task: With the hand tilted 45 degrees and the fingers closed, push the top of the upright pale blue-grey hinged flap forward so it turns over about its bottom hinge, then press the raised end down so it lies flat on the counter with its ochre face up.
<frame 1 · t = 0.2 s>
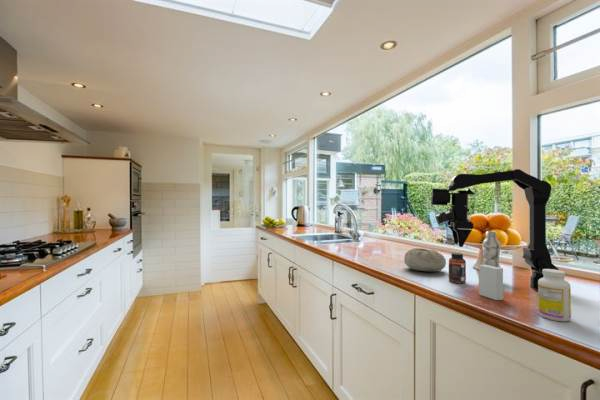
hand: (458, 245, 111), 15 cm above the worktop, tool pointing down, fingers open, 9 cm apart
supplement bottle: (457, 282, 112), on the worktop
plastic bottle: (491, 282, 113), on the worktop
supplement bottle 2: (553, 318, 77), on the worktop
smooth grey pebble: (424, 271, 130), on the worktop
flap: (490, 281, 93), point 5 cm above the worktop, hinge at 0.0°
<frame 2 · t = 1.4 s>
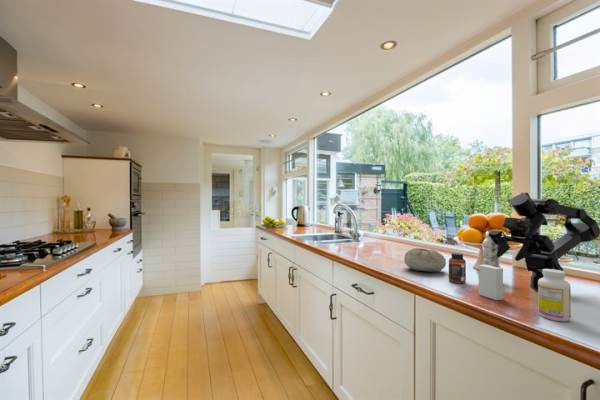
hand: (506, 258, 96), 13 cm above the worktop, tool tilted 45°, fingers open, 6 cm apart
nothing on the worktop moved.
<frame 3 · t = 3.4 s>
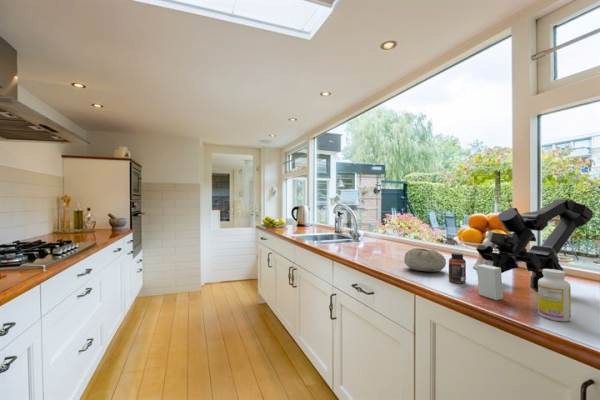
hand: (493, 274, 94), 7 cm above the worktop, tool tilted 45°, fingers closed, pressing on flap
flap: (489, 281, 93), point 5 cm above the worktop, hinge at 5.2°, touching gripper
everything else where it was.
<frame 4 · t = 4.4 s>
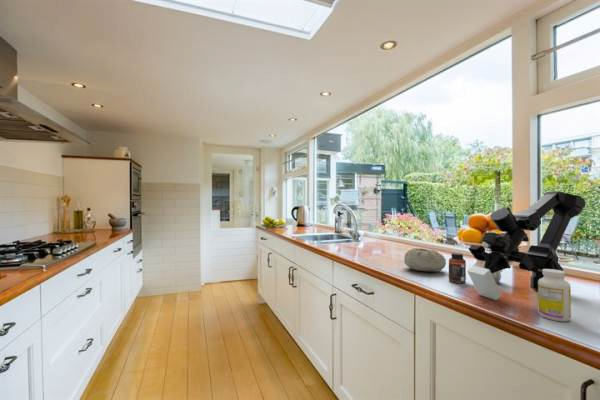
hand: (484, 274, 93), 8 cm above the worktop, tool tilted 45°, fingers closed, pressing on flap
flap: (484, 282, 93), point 5 cm above the worktop, hinge at 32.5°, touching gripper
everything else where it was.
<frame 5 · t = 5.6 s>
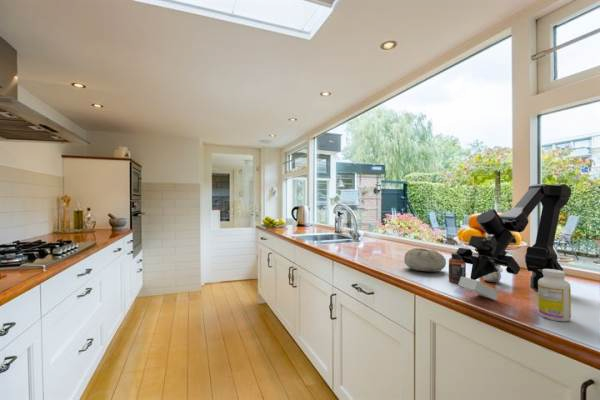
hand: (472, 279, 91), 7 cm above the worktop, tool tilted 45°, fingers closed, pressing on flap
flap: (478, 287, 92), point 4 cm above the worktop, hinge at 65.8°, touching gripper
everything else where it was.
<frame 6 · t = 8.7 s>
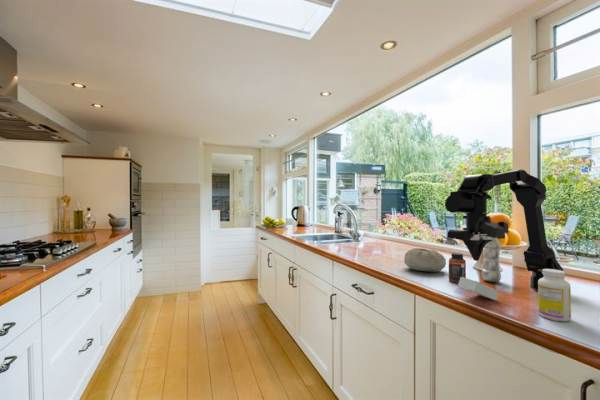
hand: (476, 260, 92), 13 cm above the worktop, tool pointing down, fingers closed
flap: (478, 288, 92), point 3 cm above the worktop, hinge at 67.7°
everything else where it was.
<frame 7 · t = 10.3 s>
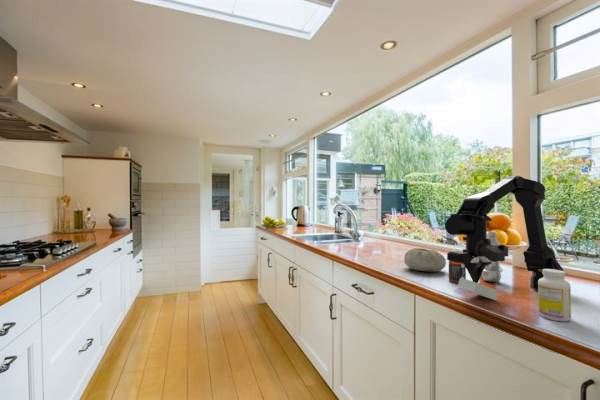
hand: (475, 282, 91), 5 cm above the worktop, tool pointing down, fingers closed
flap: (477, 288, 92), point 3 cm above the worktop, hinge at 69.7°, touching gripper
everything else where it was.
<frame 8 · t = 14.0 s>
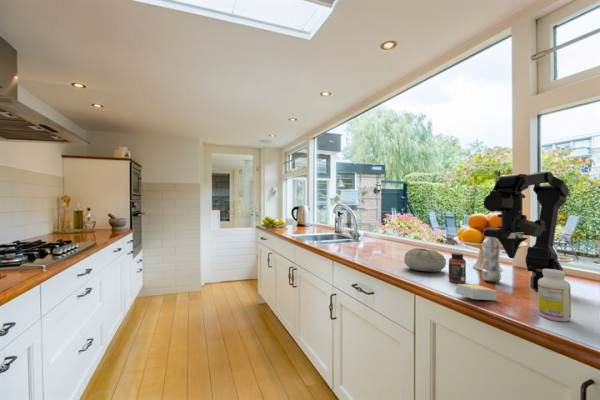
hand: (511, 258, 94), 13 cm above the worktop, tool pointing down, fingers closed
flap: (476, 291, 91), point 2 cm above the worktop, hinge at 81.7°
everything else where it was.
at the end: flap at +82° (first picture: +0°); the gripper is holding nothing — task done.
